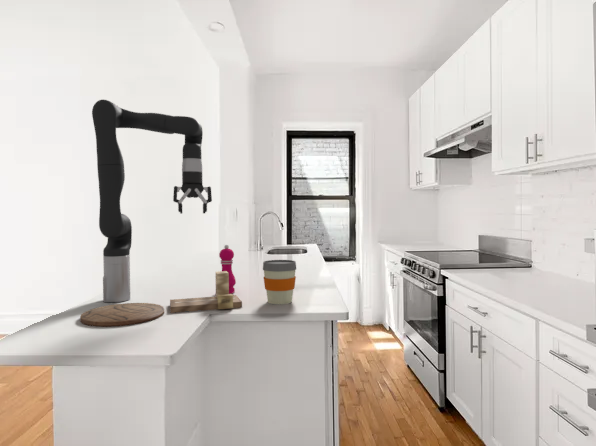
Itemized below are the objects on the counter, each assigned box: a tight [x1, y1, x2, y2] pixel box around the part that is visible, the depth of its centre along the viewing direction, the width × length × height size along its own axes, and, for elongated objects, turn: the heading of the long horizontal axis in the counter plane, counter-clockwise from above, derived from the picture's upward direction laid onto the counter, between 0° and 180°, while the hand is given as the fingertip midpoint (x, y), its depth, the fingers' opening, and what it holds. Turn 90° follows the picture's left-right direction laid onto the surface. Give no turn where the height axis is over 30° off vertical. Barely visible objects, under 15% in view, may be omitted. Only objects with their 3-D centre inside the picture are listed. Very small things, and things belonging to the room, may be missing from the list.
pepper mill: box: [218, 244, 237, 295], centre depth 171 cm, size 7×7×20 cm
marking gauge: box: [215, 270, 234, 310], centre depth 147 cm, size 5×13×11 cm, turn 18°
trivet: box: [79, 302, 165, 328], centre depth 133 cm, size 25×25×2 cm
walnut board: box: [169, 294, 243, 314], centre depth 147 cm, size 24×12×2 cm, turn 108°
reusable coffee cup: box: [262, 259, 297, 305], centre depth 153 cm, size 12×13×15 cm
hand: (192, 213), depth 158 cm, fingers open, 8 cm apart
